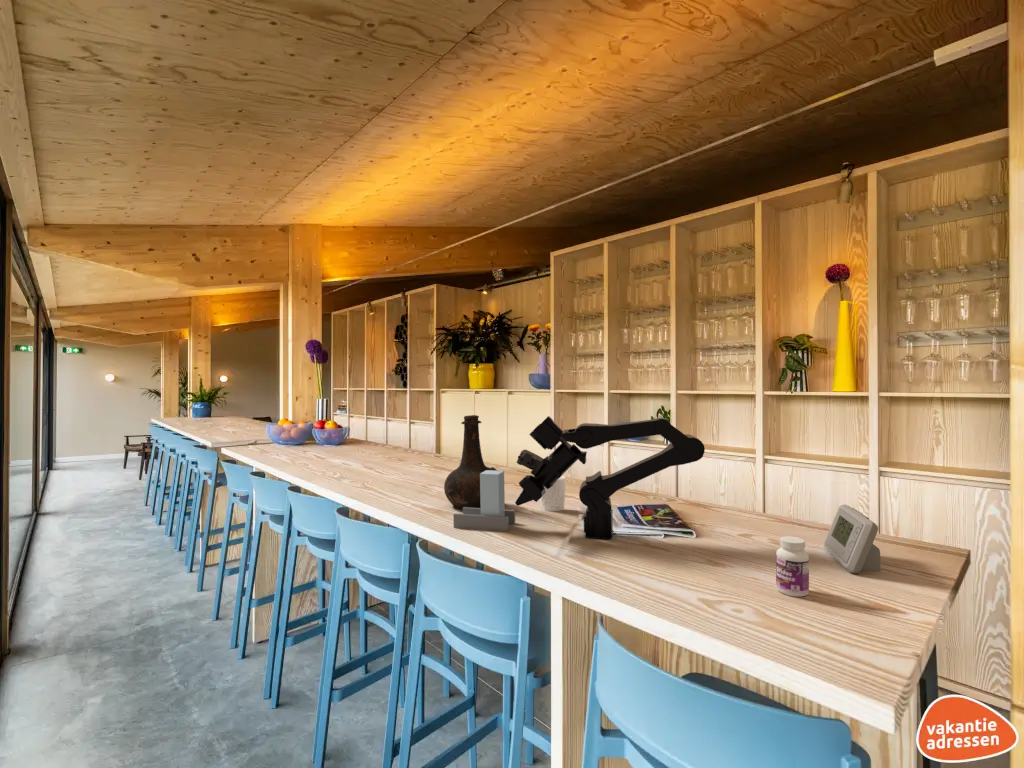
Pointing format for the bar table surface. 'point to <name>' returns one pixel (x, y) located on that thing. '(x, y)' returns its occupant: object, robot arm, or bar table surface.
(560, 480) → the white cup
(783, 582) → the pill bottle
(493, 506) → the block
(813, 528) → the bar table surface
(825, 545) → the digital clock
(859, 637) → the bar table surface
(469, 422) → the dark brown round-bodied bottle
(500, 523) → the chute
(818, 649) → the bar table surface
